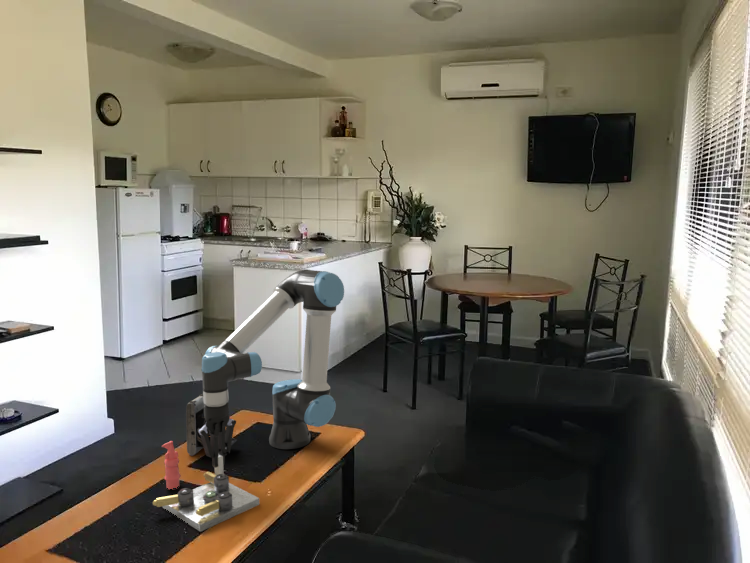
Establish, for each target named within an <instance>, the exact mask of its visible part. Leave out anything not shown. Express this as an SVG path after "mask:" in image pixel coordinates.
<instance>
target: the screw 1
mask: <svg viewBox="0 0 750 563" xmlns="http://www.w3.org/2000/svg"><path fill="white" fill-rule="evenodd" d="M193 503H194V495H193V490H192V489H191V488H190V487H184V488H180V489H179V491H178V492H177V494H173V495H167V496H161V497H156V499H154V500H153V501H152V506H154V507H155V506H156V507H157V508H160V507H163V506H167V505H172V504H178V505H179V506H189V505H191V504H193Z"/></svg>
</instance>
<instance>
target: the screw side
mask: <svg viewBox="0 0 750 563" xmlns="http://www.w3.org/2000/svg"><path fill="white" fill-rule="evenodd" d="M230 508H232V494H231V493H229V492H221V493H219V494H218V495H217V496H216V500H215V501H213V502H210V503H208V504H206V505H203V506H201V507H199V509H198V510H197V511H196V514H197V515H200V516H203V515H206V514H208V513H210V512H213V511H215V510H217V509H218V510H228V509H230Z"/></svg>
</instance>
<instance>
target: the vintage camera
mask: <svg viewBox="0 0 750 563" xmlns="http://www.w3.org/2000/svg"><path fill="white" fill-rule="evenodd" d="M185 411H186V412H185V416H186V417H185V420H186V421H185V423H186V426H185V427H186V430H185V431H186V452H187V454H188V455H189V456H191V457H192V456H196V454H197V453H199V451H201V450H202V449H204V446H203V443H202V440H201V436H200V435H199V433H198V432H197V430H198V429H201V428H202V427H203V426H204V421H205V417H204V399H203V393H202V394H199V396H197V397H196V398H194V399H193V400H190V401H189V402H188V403H187V404H186V406H185ZM228 415H229V416H230V413H229V414H228ZM207 432H208V433H207V435H208V437H209V441H210V435H209V431H208V429H207ZM237 441H238V439H235V438H233V437H232V442H231V446H233V445H234V444H235V443H237ZM230 453H231V450H230V451H229V452H228V454H230Z"/></svg>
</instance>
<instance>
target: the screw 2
mask: <svg viewBox="0 0 750 563" xmlns="http://www.w3.org/2000/svg"><path fill="white" fill-rule="evenodd" d="M203 477H204V479H205V481H208V483H210V482H211V483H213V484H214V490H215V491H225V490H227V489H228V488H229V483H230V478H229V476H228V474H225V473H224V474H219V475H217V476H216V475H215V473H212V472H210V471H206V472H204V473H203Z"/></svg>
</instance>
